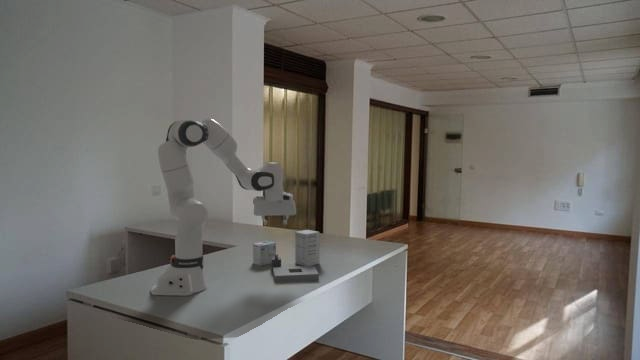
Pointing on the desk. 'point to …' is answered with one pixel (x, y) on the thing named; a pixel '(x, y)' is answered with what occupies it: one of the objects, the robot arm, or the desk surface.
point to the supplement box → (307, 247)
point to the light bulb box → (263, 252)
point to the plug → (276, 261)
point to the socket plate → (295, 273)
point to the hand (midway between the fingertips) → (275, 224)
